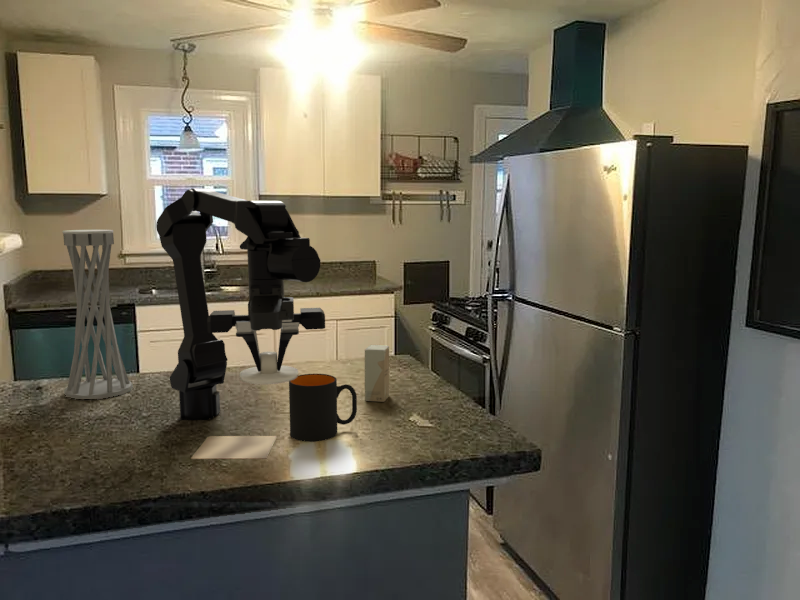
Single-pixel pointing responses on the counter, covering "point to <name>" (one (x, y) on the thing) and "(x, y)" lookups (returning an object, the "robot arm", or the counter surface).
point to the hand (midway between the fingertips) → (269, 370)
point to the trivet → (235, 447)
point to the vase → (107, 384)
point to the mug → (316, 407)
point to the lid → (268, 371)
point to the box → (376, 373)
